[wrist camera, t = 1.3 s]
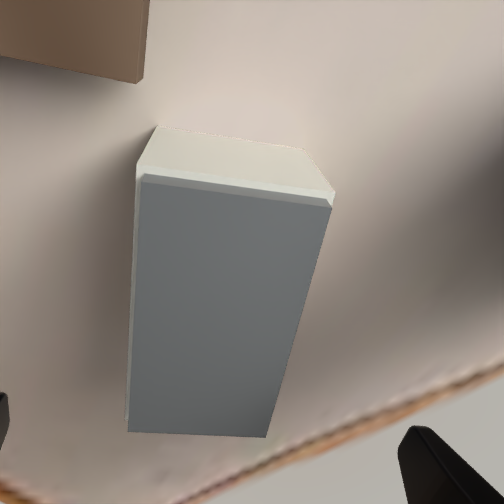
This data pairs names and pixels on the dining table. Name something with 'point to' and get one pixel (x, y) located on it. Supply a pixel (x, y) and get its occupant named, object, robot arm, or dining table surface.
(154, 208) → the block
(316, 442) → the dining table surface
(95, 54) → the stand
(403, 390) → the dining table surface
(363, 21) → the dining table surface
